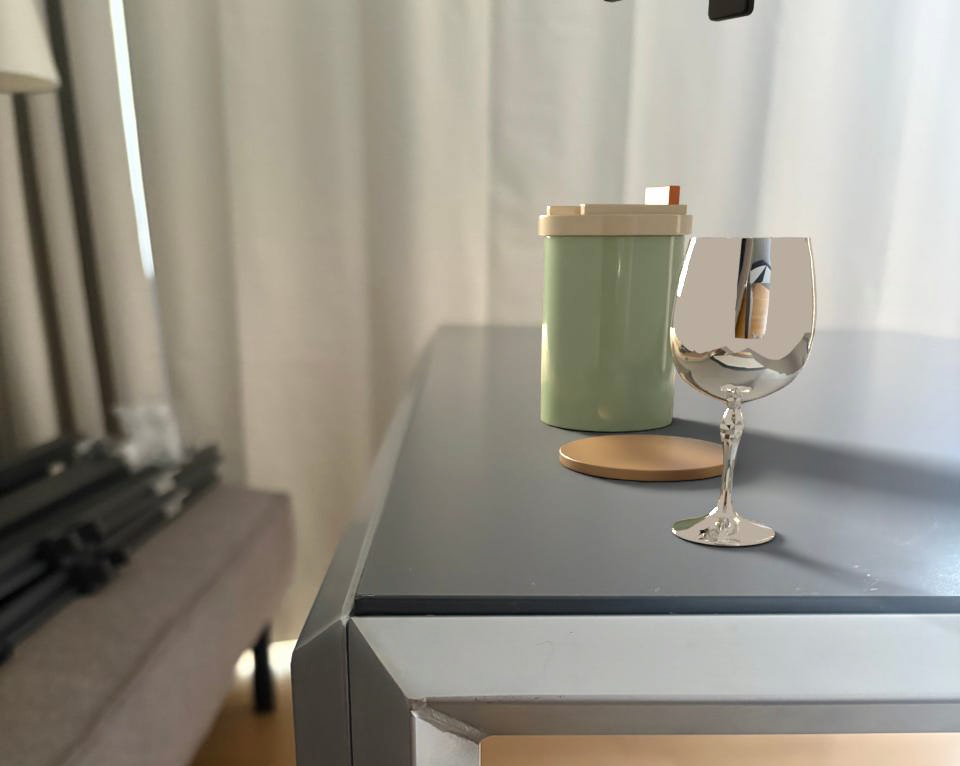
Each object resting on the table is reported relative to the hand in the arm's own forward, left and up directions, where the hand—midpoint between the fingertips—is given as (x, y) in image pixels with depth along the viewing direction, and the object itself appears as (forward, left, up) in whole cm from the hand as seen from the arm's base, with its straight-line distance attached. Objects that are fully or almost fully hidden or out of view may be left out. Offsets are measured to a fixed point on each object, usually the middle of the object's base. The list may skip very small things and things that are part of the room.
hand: (679, 8), depth 61 cm
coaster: (+8, +12, -25) cm, 29 cm away
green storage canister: (+4, -1, -25) cm, 25 cm away
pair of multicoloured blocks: (+2, -1, -12) cm, 12 cm away
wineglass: (+12, +26, -25) cm, 38 cm away
